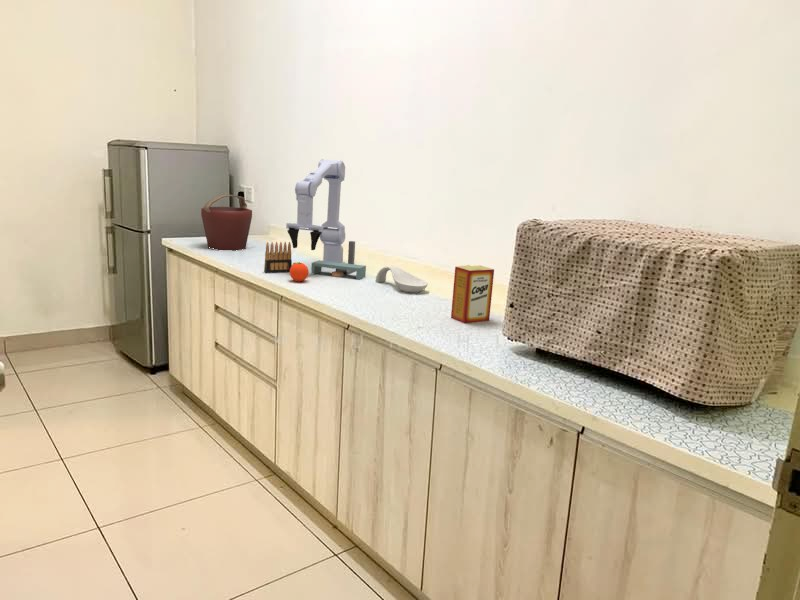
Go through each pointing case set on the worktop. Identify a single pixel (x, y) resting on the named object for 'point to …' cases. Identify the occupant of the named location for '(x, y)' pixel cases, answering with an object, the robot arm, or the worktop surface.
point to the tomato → (299, 271)
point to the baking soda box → (472, 293)
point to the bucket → (226, 225)
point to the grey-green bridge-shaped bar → (339, 267)
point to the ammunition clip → (278, 258)
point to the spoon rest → (402, 280)
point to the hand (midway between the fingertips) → (304, 248)
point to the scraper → (349, 257)
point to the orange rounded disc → (337, 274)
